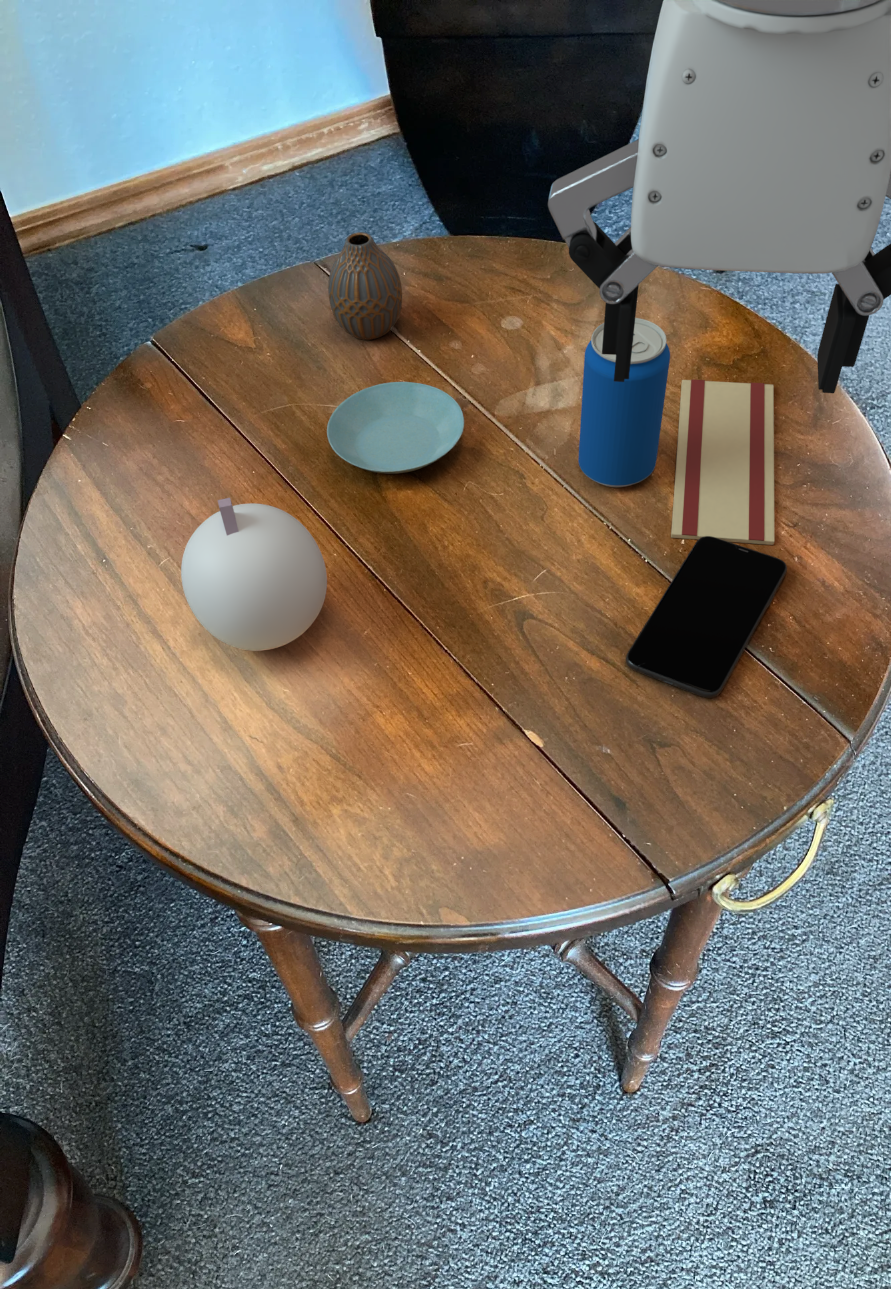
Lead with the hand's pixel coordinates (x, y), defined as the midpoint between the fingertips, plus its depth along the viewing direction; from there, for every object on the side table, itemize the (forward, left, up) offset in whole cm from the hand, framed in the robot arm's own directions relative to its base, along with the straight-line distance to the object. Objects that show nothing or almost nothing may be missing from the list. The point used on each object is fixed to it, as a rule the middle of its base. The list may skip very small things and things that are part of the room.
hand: (722, 370), depth 52 cm
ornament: (+30, -6, -28) cm, 42 cm away
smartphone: (-3, -11, -28) cm, 30 cm away
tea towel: (-4, -29, -28) cm, 41 cm away
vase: (+30, -45, -28) cm, 61 cm away
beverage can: (+5, -27, -28) cm, 40 cm away
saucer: (+24, -28, -28) cm, 47 cm away
